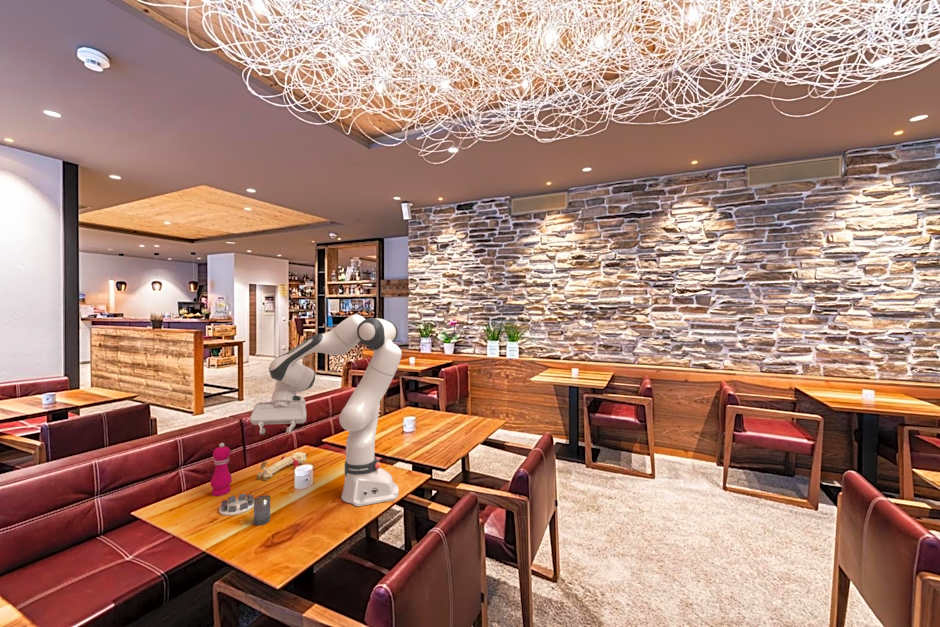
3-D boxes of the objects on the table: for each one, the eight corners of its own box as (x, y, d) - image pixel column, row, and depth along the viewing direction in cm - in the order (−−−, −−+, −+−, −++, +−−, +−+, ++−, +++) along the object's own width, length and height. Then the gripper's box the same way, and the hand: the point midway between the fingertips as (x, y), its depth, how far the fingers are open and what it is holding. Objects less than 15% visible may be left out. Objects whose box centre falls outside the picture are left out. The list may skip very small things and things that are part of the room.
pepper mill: (221, 497, 151) (221, 446, 151) (205, 495, 152) (206, 445, 152) (236, 489, 158) (236, 440, 158) (221, 487, 159) (221, 439, 159)
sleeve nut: (271, 517, 137) (272, 494, 137) (267, 524, 132) (267, 501, 132) (256, 518, 136) (256, 495, 136) (251, 526, 131) (251, 502, 131)
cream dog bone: (269, 485, 165) (313, 460, 188) (268, 465, 164) (312, 442, 188) (253, 481, 169) (297, 456, 192) (252, 462, 168) (297, 440, 191)
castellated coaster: (259, 498, 150) (259, 491, 150) (248, 513, 139) (249, 506, 139) (226, 501, 148) (227, 494, 148) (213, 516, 137) (213, 509, 137)
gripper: (253, 398, 154) (243, 430, 144) (307, 397, 158) (301, 428, 148) (257, 406, 158) (247, 438, 149) (309, 405, 162) (304, 435, 153)
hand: (275, 433), depth 149 cm, fingers open, 8 cm apart
